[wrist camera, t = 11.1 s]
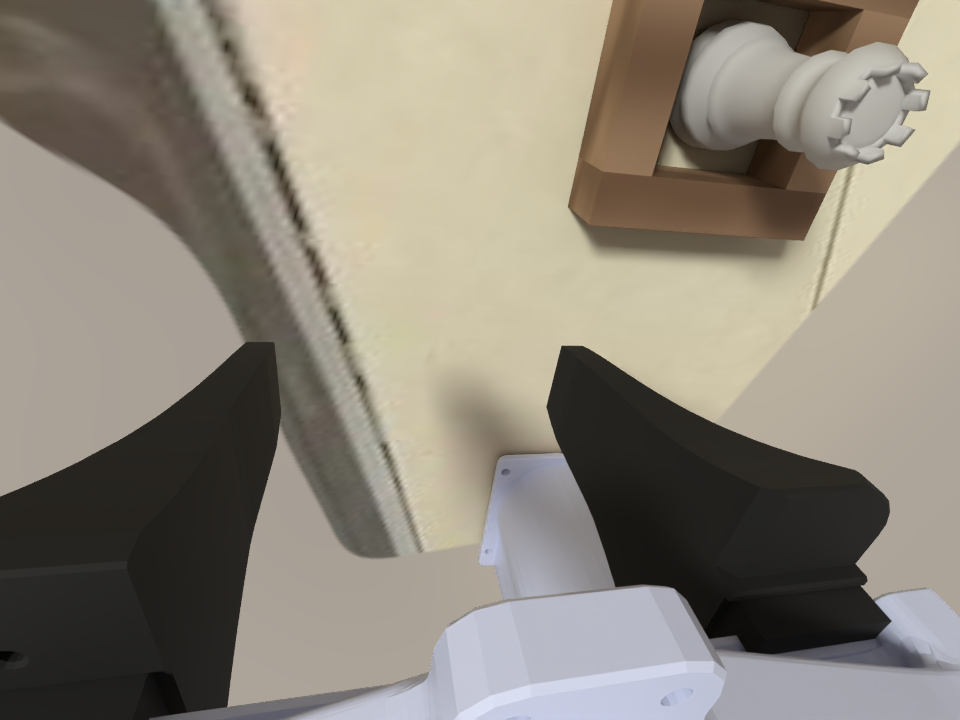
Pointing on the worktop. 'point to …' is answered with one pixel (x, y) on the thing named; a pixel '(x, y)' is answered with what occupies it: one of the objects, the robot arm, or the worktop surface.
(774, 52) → the rook chess piece
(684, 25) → the walnut docking collar
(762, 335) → the worktop surface
